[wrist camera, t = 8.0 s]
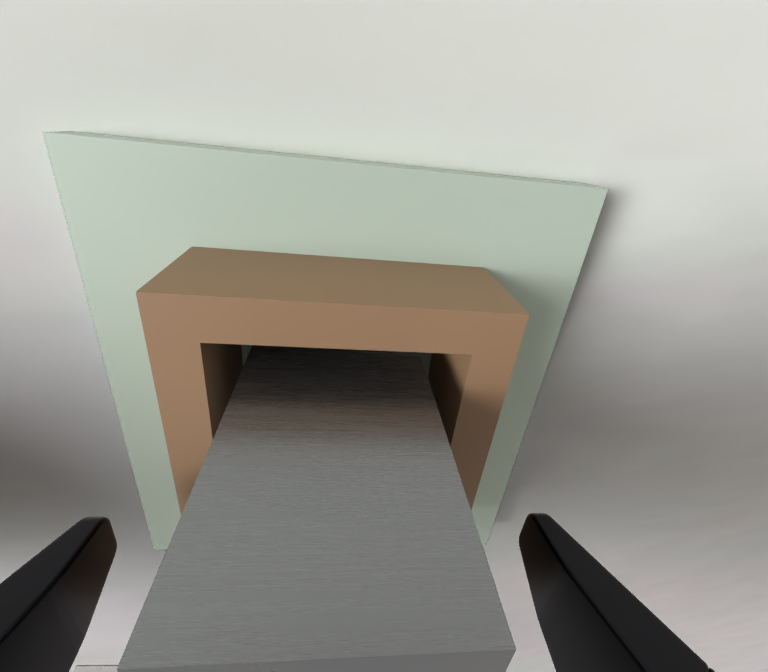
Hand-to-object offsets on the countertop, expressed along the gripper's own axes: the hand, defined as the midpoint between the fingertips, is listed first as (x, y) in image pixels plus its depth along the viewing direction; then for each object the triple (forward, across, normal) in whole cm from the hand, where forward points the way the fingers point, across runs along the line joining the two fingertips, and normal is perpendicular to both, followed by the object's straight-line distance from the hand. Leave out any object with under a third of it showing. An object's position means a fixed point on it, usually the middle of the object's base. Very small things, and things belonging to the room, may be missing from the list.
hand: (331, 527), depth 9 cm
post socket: (+5, 0, 0) cm, 5 cm away
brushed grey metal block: (+4, 0, 0) cm, 4 cm away
